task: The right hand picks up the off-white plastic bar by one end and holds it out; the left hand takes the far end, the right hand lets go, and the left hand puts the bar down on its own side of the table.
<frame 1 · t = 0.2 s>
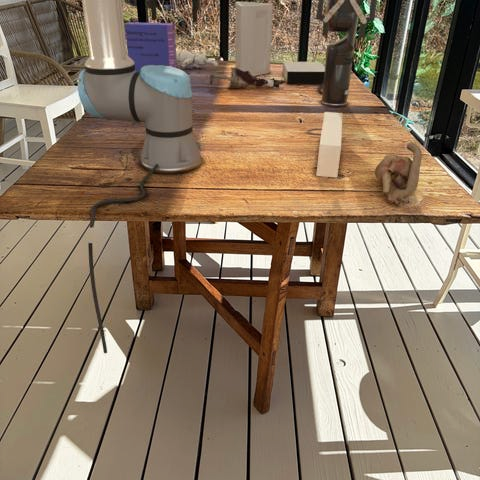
left hand: (174, 20, 152), 28 cm above the table, tool pointing down, fingers open, 13 cm apart
right hand: (342, 38, 122), 28 cm above the table, tool pointing down, fingers open, 8 cm apart
cereal box: (155, 90, 188), on the table
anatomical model: (392, 192, 110), on the table
figurine: (247, 88, 192), on the table
bar: (328, 156, 129), on the table
disc drive: (304, 78, 208), on the table
toy: (186, 67, 225), on the table
white tapered box: (253, 72, 218), on the table
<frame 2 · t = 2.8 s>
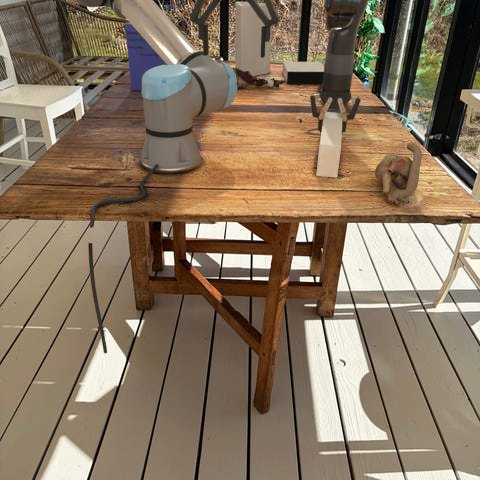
left hand: (234, 55, 113), 26 cm above the table, tool pointing down, fingers open, 13 cm apart
right hand: (331, 132, 135), 4 cm above the table, tool pointing down, fingers closed on bar, 5 cm apart
bar: (328, 156, 129), on the table, touching right hand
everything else where it was.
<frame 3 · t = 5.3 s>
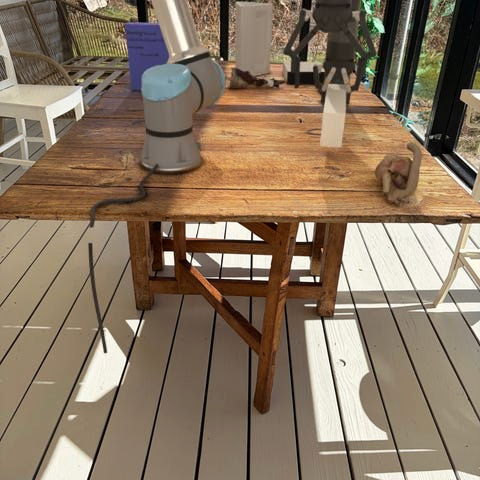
left hand: (326, 88, 110), 20 cm above the table, tool pointing down, fingers open, 13 cm apart
right hand: (334, 104, 131), 11 cm above the table, tool pointing down, fingers closed on bar, 5 cm apart
bar: (332, 128, 125), point 8 cm above the table, touching right hand
everything else where it was.
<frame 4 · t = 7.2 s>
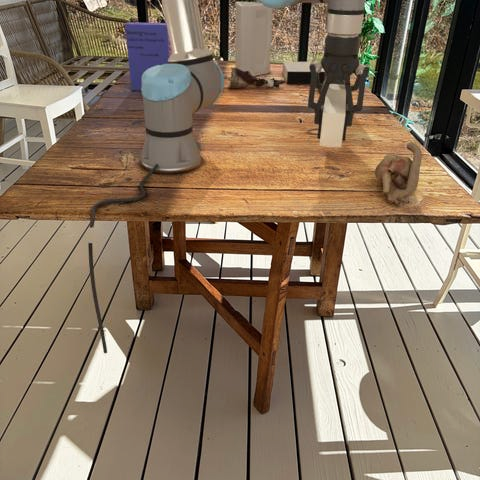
left hand: (331, 137, 116), 9 cm above the table, tool pointing down, fingers closed on bar, 5 cm apart
right hand: (334, 104, 131), 11 cm above the table, tool pointing down, fingers closed on bar, 5 cm apart
bar: (331, 128, 125), point 8 cm above the table, touching left hand, right hand
everything else where it was.
when the right hand's fingers open (11 cm above the table, at t = 8.2 s): bar stays where it is, held by the left hand.
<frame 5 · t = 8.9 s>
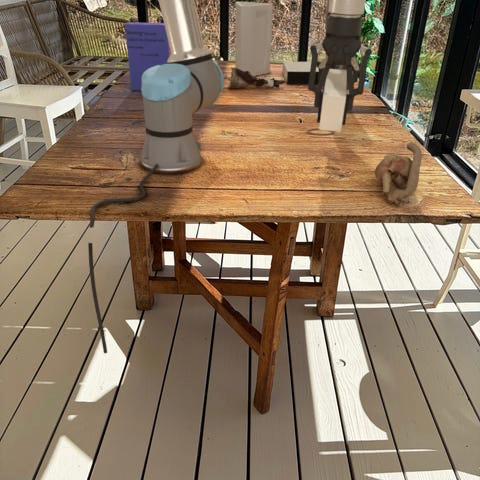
left hand: (331, 121, 114), 12 cm above the table, tool pointing down, fingers closed on bar, 5 cm apart
right hand: (337, 83, 130), 17 cm above the table, tool pointing down, fingers open, 8 cm apart
bar: (331, 113, 123), point 12 cm above the table, touching left hand
everything else where it was.
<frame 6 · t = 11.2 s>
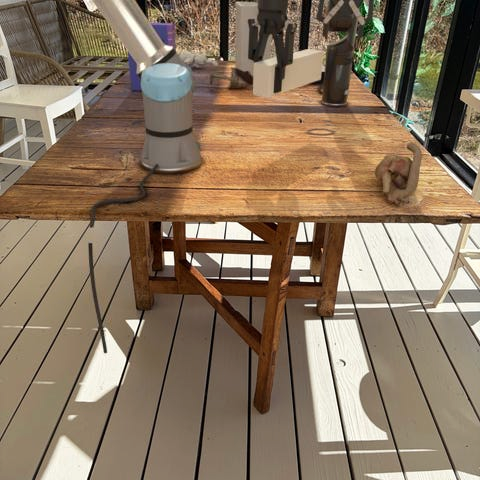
left hand: (268, 90, 128), 15 cm above the table, tool pointing down, fingers closed on bar, 5 cm apart
right hand: (341, 39, 128), 27 cm above the table, tool pointing down, fingers open, 8 cm apart
bar: (288, 86, 135), point 14 cm above the table, touching left hand
everything else where it was.
when the left hand's fingers open (2 cm above the table, at t = 15.1 s): bar drops 1 cm, on the table.
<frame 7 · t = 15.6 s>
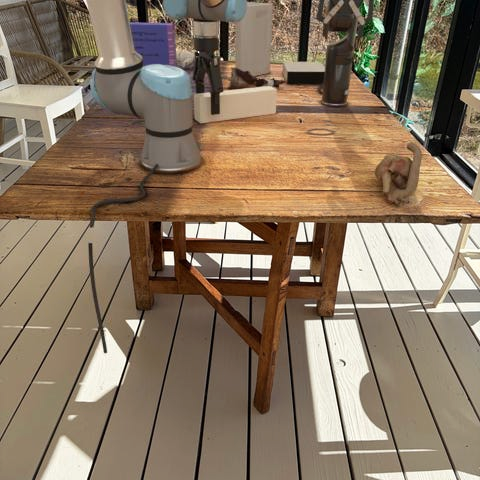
left hand: (207, 109, 153), 3 cm above the table, tool pointing down, fingers open, 11 cm apart
right hand: (341, 39, 128), 27 cm above the table, tool pointing down, fingers open, 8 cm apart
bar: (236, 116, 159), on the table
everything else where it was.
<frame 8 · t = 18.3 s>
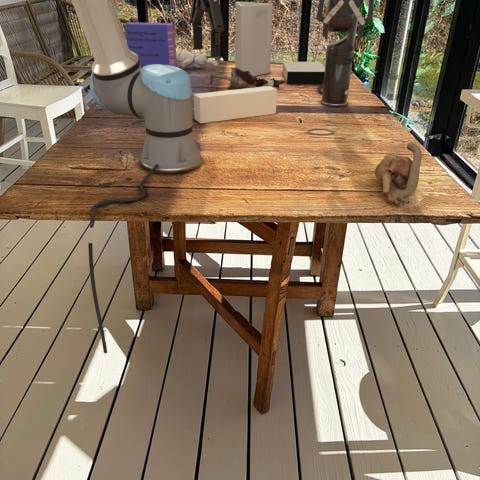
left hand: (206, 53, 145), 21 cm above the table, tool pointing down, fingers open, 13 cm apart
right hand: (341, 39, 128), 27 cm above the table, tool pointing down, fingers open, 8 cm apart
nothing on the table moved.
at the end: bar inside the target area (10.1 cm from its centre), on the table; the left hand is holding nothing; the right hand is holding nothing; bar at rest at the end (0.0 cm/s) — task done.
